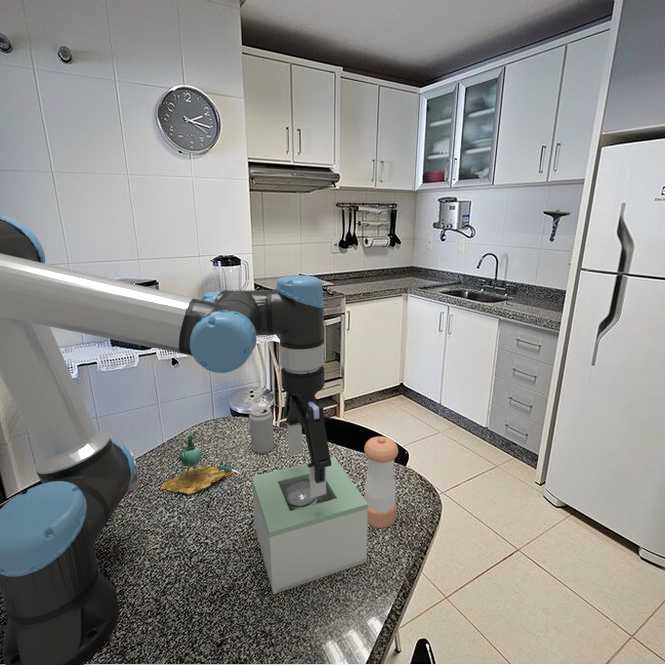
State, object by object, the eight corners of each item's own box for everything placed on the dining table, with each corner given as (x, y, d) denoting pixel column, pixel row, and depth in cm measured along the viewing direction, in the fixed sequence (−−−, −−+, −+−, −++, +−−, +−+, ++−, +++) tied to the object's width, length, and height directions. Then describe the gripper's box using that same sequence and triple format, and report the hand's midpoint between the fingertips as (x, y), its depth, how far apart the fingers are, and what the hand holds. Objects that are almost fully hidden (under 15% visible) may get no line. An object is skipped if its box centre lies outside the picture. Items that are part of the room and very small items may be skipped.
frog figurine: (235, 491, 96) (223, 437, 91) (157, 507, 93) (141, 453, 89) (237, 467, 105) (226, 417, 100) (166, 481, 102) (151, 431, 98)
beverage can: (269, 456, 109) (267, 416, 106) (247, 453, 111) (245, 414, 107) (277, 443, 115) (275, 406, 112) (256, 441, 117) (254, 404, 113)
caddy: (273, 594, 69) (269, 532, 65) (255, 530, 83) (251, 476, 80) (366, 562, 75) (367, 504, 72) (335, 507, 90) (334, 456, 86)
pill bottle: (120, 482, 99) (115, 452, 97) (141, 478, 100) (136, 449, 98) (116, 494, 95) (110, 463, 92) (137, 490, 96) (132, 460, 94)
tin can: (297, 558, 75) (289, 509, 71) (289, 534, 81) (281, 487, 77) (327, 547, 77) (321, 498, 73) (317, 524, 83) (311, 477, 78)
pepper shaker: (367, 530, 83) (368, 449, 78) (359, 506, 90) (360, 430, 85) (400, 525, 84) (404, 445, 79) (390, 502, 91) (393, 427, 86)
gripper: (352, 390, 59) (351, 510, 65) (301, 343, 81) (304, 436, 87) (303, 398, 56) (307, 523, 62) (265, 348, 79) (271, 443, 85)
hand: (305, 472), depth 75 cm, fingers open, 13 cm apart
